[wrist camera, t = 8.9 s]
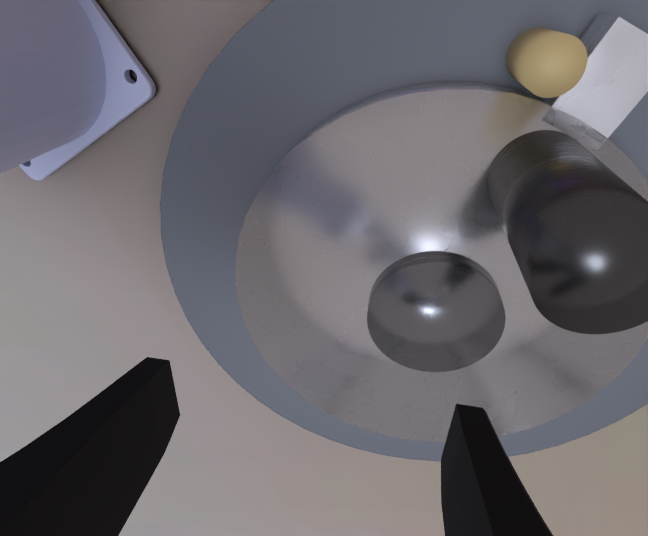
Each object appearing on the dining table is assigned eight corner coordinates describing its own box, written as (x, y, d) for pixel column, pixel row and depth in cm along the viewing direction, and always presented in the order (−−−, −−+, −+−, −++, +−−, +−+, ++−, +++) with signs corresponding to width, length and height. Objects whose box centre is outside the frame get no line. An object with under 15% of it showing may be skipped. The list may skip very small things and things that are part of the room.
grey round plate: (121, 314, 25) (76, 364, 22) (324, -254, 12) (293, -345, 9) (474, 490, 28) (484, 557, 25) (918, 181, 16) (1060, 233, 12)
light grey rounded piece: (478, 458, 24) (505, 625, 18) (201, 331, 22) (120, 466, 16) (835, 156, 14) (1187, 290, 8) (388, -113, 12) (370, -223, 6)
